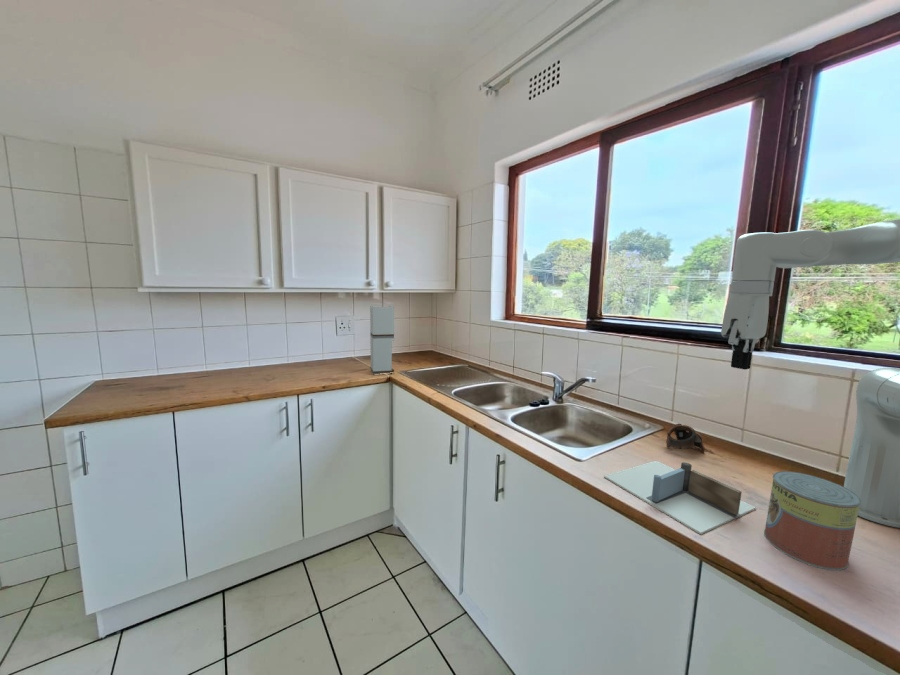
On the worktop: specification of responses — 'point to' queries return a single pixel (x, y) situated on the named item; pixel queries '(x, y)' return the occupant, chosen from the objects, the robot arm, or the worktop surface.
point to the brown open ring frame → (684, 438)
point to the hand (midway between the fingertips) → (740, 367)
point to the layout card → (675, 498)
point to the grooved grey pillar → (381, 338)
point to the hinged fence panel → (667, 484)
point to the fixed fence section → (711, 489)
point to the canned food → (812, 519)
